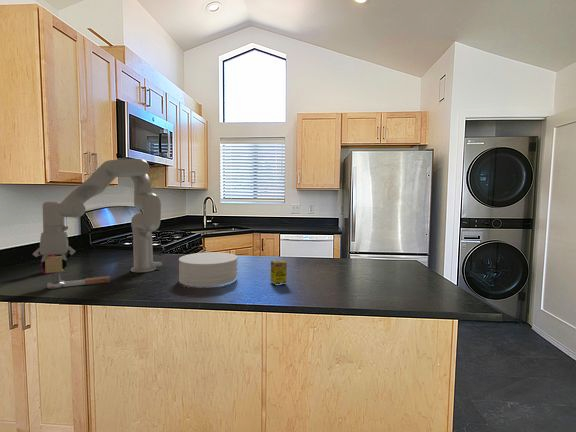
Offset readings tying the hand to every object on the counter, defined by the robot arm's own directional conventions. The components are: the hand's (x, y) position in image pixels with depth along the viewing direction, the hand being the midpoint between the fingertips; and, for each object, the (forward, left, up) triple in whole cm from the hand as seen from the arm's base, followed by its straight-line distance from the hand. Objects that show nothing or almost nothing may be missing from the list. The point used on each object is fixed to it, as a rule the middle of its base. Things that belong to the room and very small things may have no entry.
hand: (54, 268), depth 141 cm
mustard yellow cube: (0, 0, -1) cm, 1 cm away
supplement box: (-92, +40, -8) cm, 101 cm away
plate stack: (-64, +19, -9) cm, 68 cm away
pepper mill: (+7, -32, -8) cm, 34 cm away
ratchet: (-8, 0, -8) cm, 12 cm away
